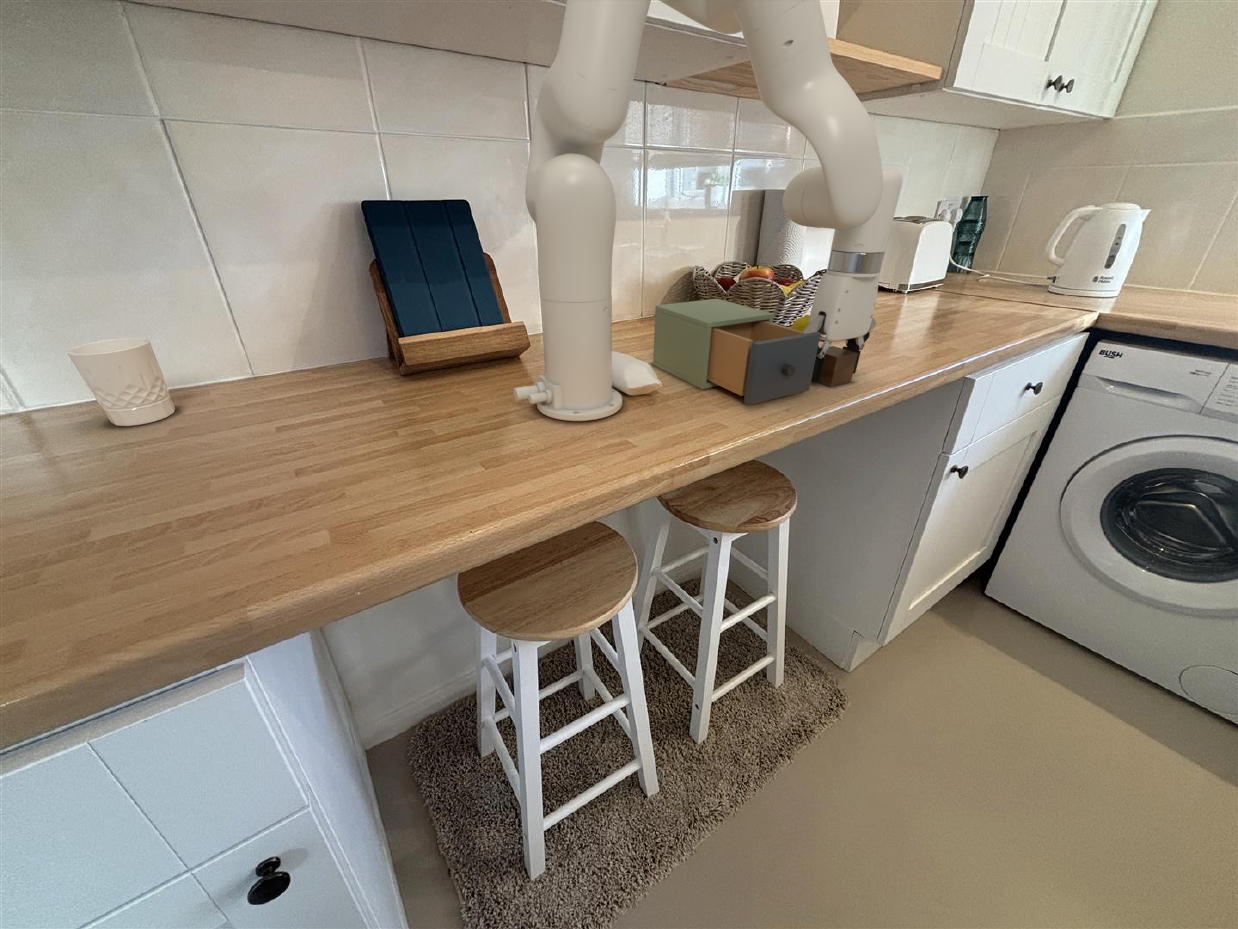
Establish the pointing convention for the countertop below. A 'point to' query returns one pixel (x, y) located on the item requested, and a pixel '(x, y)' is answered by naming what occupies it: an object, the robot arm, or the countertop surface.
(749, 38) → the robot arm
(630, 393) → the white pouch
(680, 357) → the cabinet
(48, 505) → the countertop surface
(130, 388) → the white cup
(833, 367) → the block
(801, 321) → the lemon
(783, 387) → the drawer
